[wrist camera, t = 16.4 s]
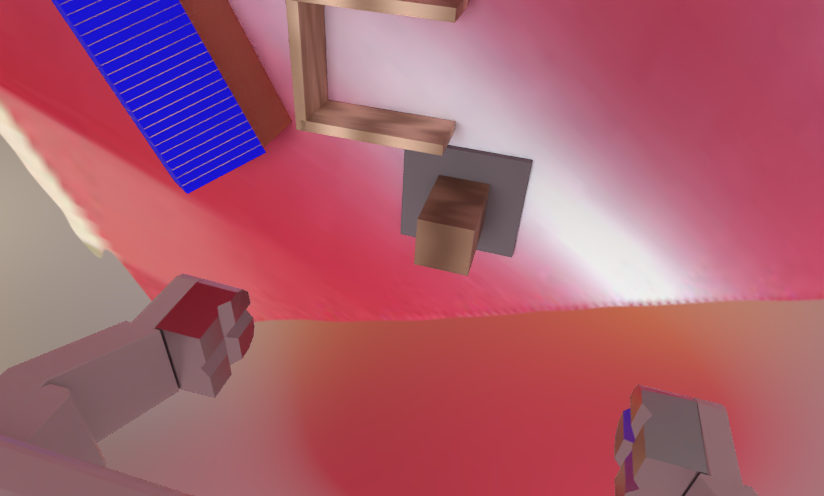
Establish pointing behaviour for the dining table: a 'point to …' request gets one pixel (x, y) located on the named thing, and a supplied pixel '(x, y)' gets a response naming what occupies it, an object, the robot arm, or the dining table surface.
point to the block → (451, 224)
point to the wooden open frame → (350, 119)
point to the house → (183, 80)
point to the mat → (472, 165)
